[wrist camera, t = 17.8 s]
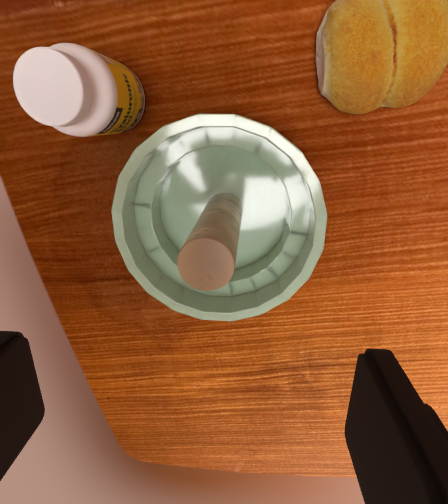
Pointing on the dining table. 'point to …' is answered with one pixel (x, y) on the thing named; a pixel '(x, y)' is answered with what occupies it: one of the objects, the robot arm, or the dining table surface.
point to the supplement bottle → (78, 90)
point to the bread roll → (381, 52)
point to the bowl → (196, 198)
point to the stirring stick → (212, 244)
